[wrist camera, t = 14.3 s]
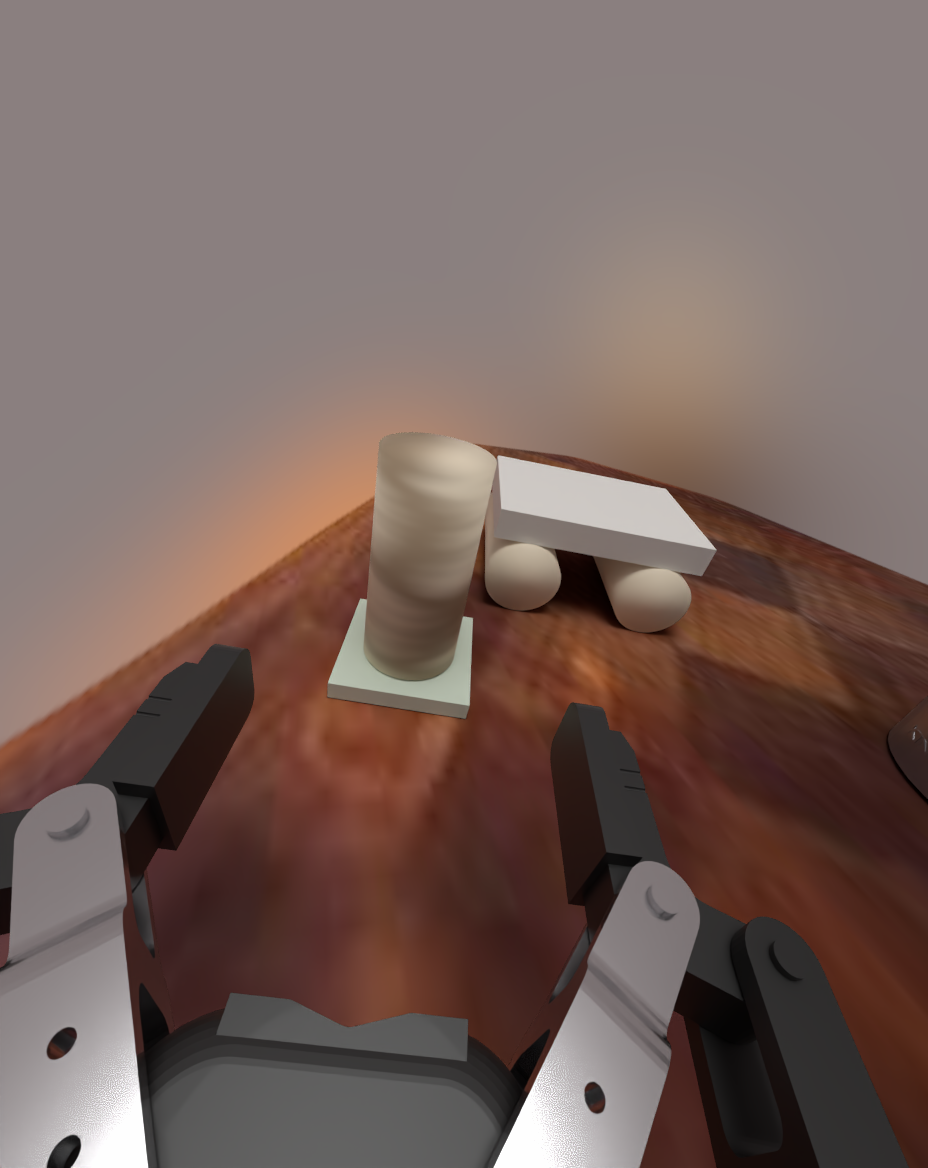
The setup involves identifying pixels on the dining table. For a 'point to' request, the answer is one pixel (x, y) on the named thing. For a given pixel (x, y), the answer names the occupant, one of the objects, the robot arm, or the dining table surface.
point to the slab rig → (590, 541)
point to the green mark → (374, 687)
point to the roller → (423, 550)
